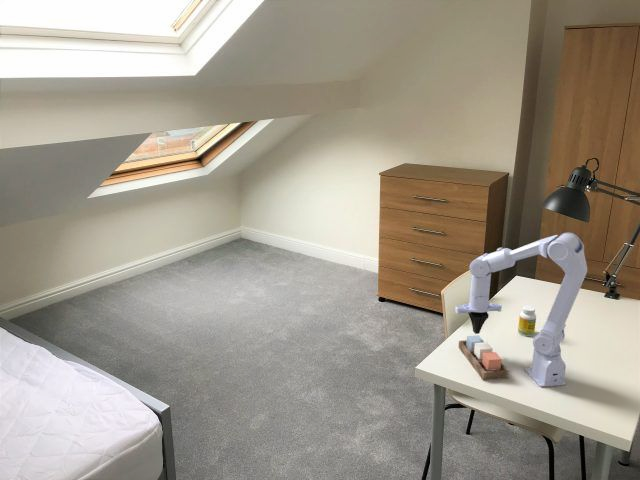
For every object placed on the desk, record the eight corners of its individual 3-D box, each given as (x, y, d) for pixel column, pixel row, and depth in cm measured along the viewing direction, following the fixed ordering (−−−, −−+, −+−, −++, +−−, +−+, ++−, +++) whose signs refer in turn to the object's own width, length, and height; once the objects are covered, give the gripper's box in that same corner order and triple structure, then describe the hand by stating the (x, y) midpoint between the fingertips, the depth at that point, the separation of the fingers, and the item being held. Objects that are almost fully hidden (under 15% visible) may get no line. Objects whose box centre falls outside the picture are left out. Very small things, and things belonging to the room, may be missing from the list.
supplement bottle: (524, 328, 188) (527, 303, 185) (537, 334, 184) (540, 308, 181) (514, 332, 185) (517, 307, 182) (527, 338, 181) (530, 312, 178)
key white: (491, 358, 164) (492, 348, 163) (479, 359, 164) (480, 349, 163) (485, 352, 168) (487, 342, 167) (473, 352, 167) (474, 343, 166)
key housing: (508, 378, 158) (508, 371, 157) (483, 380, 157) (483, 373, 156) (480, 345, 176) (481, 339, 175) (458, 347, 175) (459, 340, 174)
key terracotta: (500, 369, 158) (501, 359, 157) (487, 370, 158) (488, 360, 157) (494, 362, 162) (495, 352, 161) (482, 363, 162) (483, 353, 161)
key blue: (482, 351, 170) (483, 341, 169) (470, 351, 170) (471, 342, 169) (477, 344, 174) (478, 335, 173) (466, 345, 174) (466, 336, 173)
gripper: (496, 286, 171) (492, 324, 175) (452, 289, 169) (449, 328, 173) (506, 295, 164) (501, 335, 168) (461, 298, 162) (458, 338, 166)
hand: (476, 332), depth 170 cm, fingers closed
